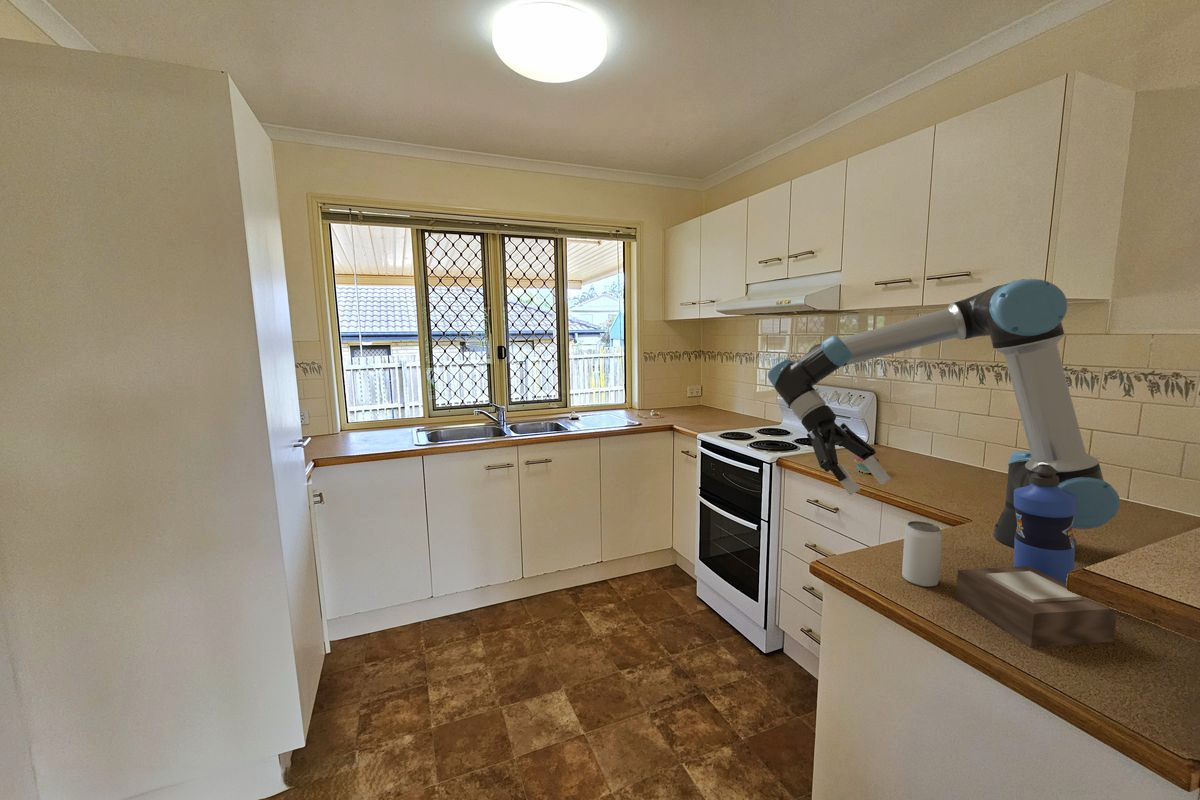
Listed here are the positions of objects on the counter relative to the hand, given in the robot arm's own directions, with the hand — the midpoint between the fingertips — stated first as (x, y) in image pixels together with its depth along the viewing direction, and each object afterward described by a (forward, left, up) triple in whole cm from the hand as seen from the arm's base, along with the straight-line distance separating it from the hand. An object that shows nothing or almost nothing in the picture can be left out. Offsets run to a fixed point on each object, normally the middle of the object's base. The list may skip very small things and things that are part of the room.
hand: (871, 487), depth 106 cm
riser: (-14, +24, -18) cm, 33 cm away
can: (-5, +9, -18) cm, 21 cm away
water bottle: (-29, +13, -18) cm, 37 cm away
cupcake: (-46, -70, -18) cm, 86 cm away
